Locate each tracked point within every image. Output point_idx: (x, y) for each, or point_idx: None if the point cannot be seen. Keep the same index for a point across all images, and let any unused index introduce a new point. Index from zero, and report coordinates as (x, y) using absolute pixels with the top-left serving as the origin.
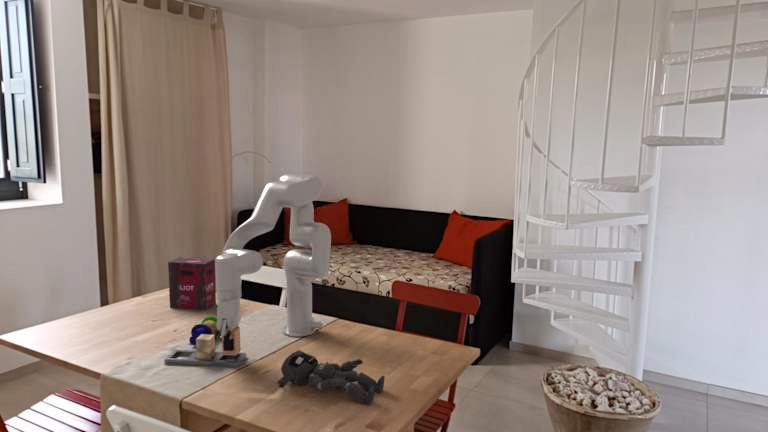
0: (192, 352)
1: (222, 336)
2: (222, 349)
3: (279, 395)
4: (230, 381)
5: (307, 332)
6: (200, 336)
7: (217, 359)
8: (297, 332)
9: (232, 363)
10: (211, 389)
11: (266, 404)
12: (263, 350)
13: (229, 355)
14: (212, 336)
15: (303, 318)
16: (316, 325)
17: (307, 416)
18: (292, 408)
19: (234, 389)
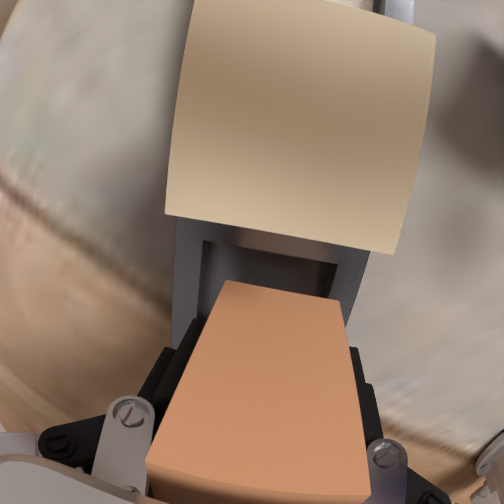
0: (384, 8)
1: (170, 406)
2: (215, 304)
3: (53, 415)
4: (79, 300)
5: (480, 471)
6: (329, 24)
7: (216, 229)
8: (496, 453)
9: (173, 326)
10: (14, 234)
11: (11, 383)
12: (424, 396)
13: (327, 290)
14: (317, 234)
15: (501, 498)
16: (482, 493)
17: (15, 428)
18: (23, 419)
19: (34, 316)
